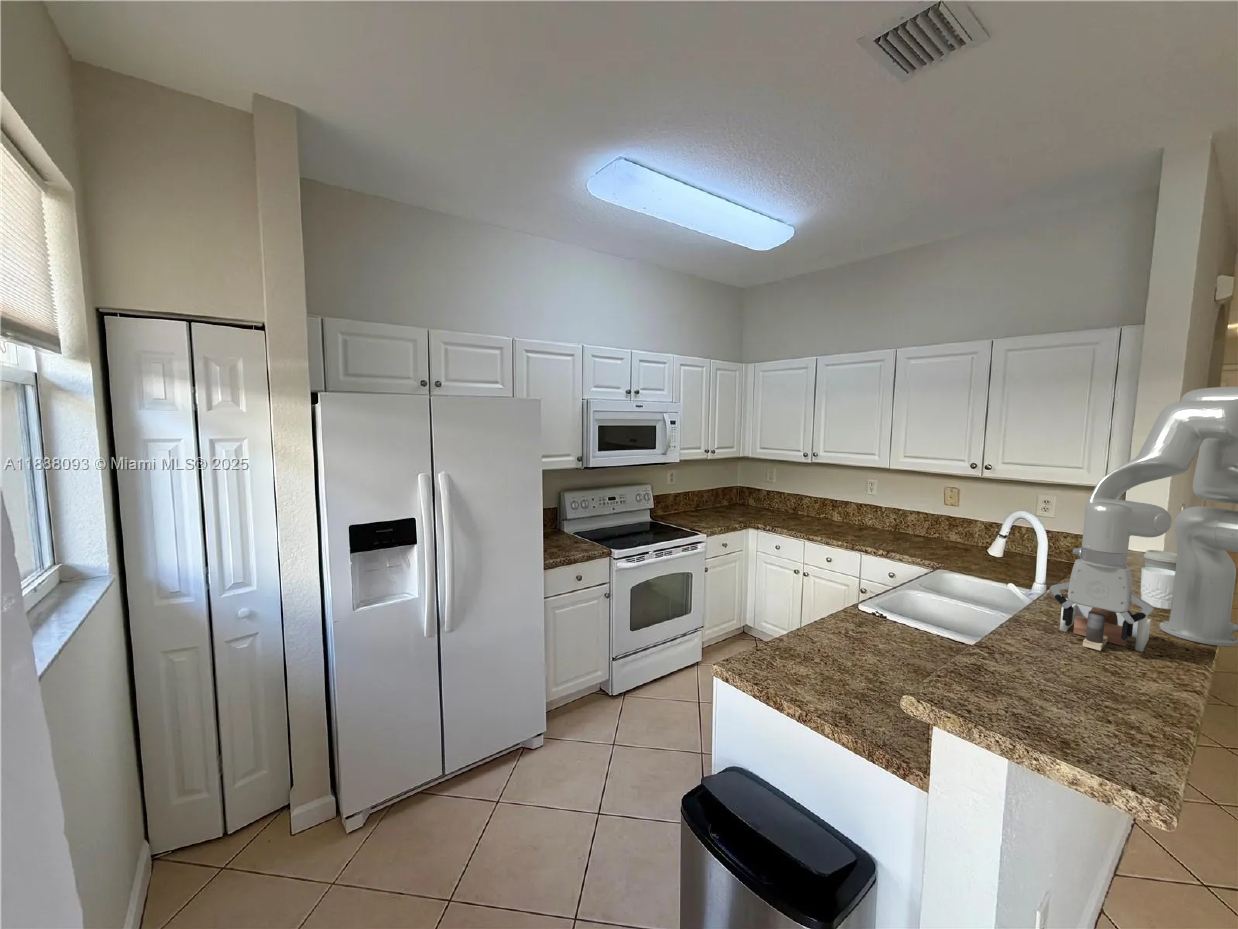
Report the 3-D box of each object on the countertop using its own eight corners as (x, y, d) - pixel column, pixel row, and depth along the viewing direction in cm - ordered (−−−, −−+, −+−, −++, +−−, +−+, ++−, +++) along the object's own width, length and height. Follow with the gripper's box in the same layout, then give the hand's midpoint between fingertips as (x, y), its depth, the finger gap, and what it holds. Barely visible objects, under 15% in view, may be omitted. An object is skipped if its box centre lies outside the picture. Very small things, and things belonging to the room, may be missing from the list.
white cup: (1168, 603, 147) (1172, 569, 146) (1184, 612, 140) (1188, 576, 139) (1132, 598, 150) (1136, 565, 149) (1146, 607, 143) (1150, 572, 142)
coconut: (1121, 642, 119) (1125, 609, 118) (1095, 639, 120) (1098, 606, 120) (1106, 633, 124) (1110, 601, 123) (1081, 630, 125) (1084, 599, 125)
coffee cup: (1173, 589, 160) (1178, 552, 158) (1184, 597, 152) (1189, 558, 151) (1135, 584, 164) (1139, 548, 163) (1144, 591, 157) (1149, 553, 156)
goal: (1143, 652, 114) (1147, 617, 113) (1058, 630, 125) (1062, 598, 125) (1149, 640, 121) (1153, 607, 120) (1069, 620, 132) (1072, 590, 131)
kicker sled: (1119, 655, 111) (1122, 622, 110) (1065, 641, 118) (1068, 609, 117) (1126, 644, 117) (1130, 612, 116) (1074, 631, 124) (1077, 601, 123)
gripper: (1049, 551, 119) (1042, 622, 120) (1156, 569, 105) (1147, 649, 107) (1057, 547, 123) (1051, 615, 125) (1161, 564, 110) (1152, 640, 111)
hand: (1095, 631), depth 116 cm, fingers open, 9 cm apart
